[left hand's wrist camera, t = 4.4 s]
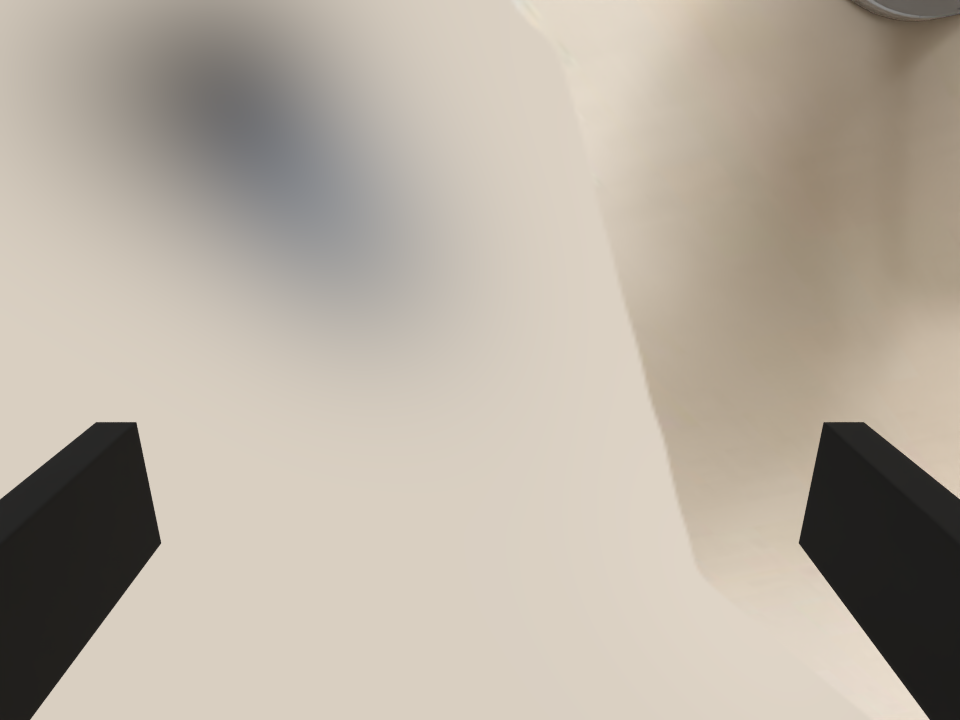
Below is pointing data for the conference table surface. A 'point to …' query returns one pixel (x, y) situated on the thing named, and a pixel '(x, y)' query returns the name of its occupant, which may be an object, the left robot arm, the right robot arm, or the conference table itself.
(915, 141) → the conference table surface
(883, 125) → the conference table surface
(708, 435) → the conference table surface
